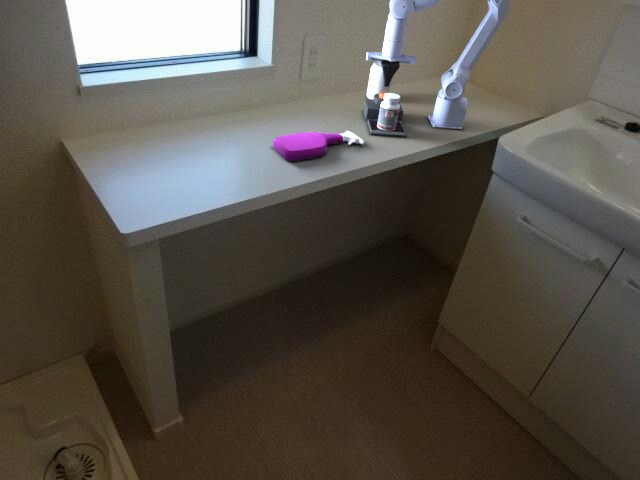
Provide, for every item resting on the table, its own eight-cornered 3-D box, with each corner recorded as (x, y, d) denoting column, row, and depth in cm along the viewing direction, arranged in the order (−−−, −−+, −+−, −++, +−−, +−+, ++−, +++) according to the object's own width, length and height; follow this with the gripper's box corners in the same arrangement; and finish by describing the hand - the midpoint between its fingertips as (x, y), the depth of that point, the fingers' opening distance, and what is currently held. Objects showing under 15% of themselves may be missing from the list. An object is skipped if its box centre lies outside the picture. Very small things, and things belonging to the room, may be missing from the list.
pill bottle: (396, 132, 143) (403, 100, 137) (377, 131, 143) (383, 98, 137) (394, 124, 148) (400, 93, 142) (376, 123, 147) (381, 91, 141)
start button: (388, 96, 153) (389, 91, 152) (389, 100, 150) (390, 94, 149) (378, 95, 152) (379, 90, 151) (379, 99, 150) (380, 94, 149)
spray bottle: (270, 146, 130) (345, 133, 142) (289, 164, 123) (366, 149, 135) (270, 135, 128) (346, 124, 140) (290, 153, 121) (368, 139, 133)
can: (380, 104, 162) (386, 68, 154) (362, 98, 165) (367, 62, 158) (391, 99, 167) (398, 64, 159) (373, 93, 170) (379, 58, 163)
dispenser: (396, 112, 158) (399, 94, 154) (400, 124, 150) (404, 105, 147) (362, 110, 157) (365, 91, 153) (365, 121, 149) (368, 102, 146)
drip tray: (400, 125, 150) (401, 121, 149) (405, 137, 143) (406, 133, 142) (367, 122, 149) (367, 118, 148) (370, 135, 142) (371, 130, 141)
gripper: (371, 41, 137) (364, 88, 145) (421, 45, 138) (411, 92, 146) (368, 34, 143) (361, 80, 151) (416, 38, 144) (407, 84, 152)
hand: (385, 85), depth 149 cm, fingers closed
